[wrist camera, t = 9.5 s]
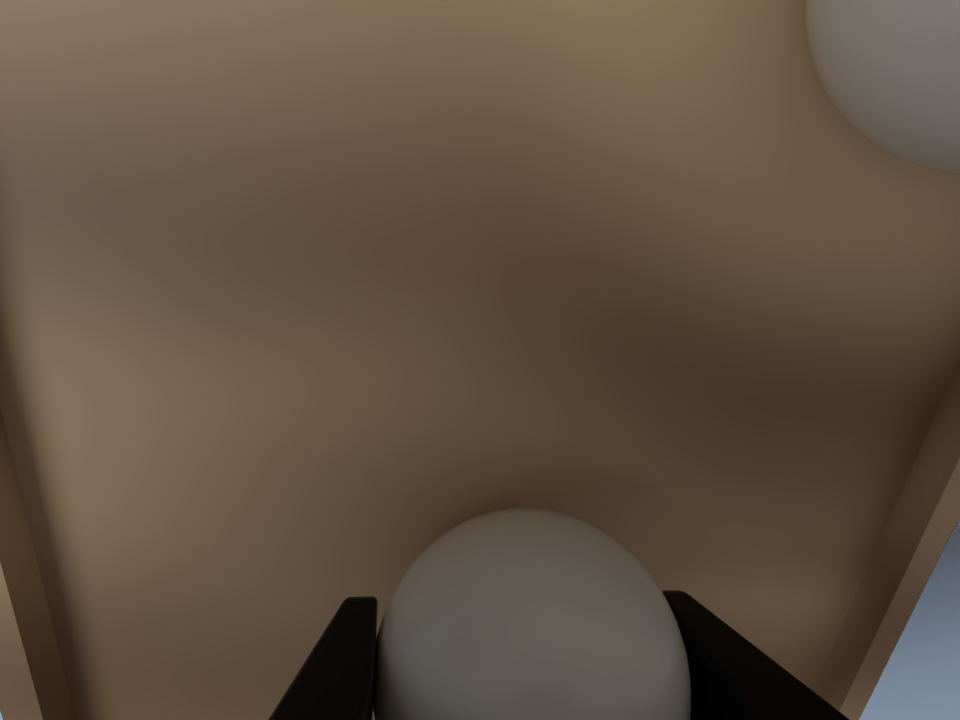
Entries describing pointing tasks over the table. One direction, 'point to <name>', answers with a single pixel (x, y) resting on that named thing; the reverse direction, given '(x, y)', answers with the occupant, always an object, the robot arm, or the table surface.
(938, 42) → the pebble
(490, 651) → the pebble
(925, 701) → the table surface
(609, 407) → the tray
